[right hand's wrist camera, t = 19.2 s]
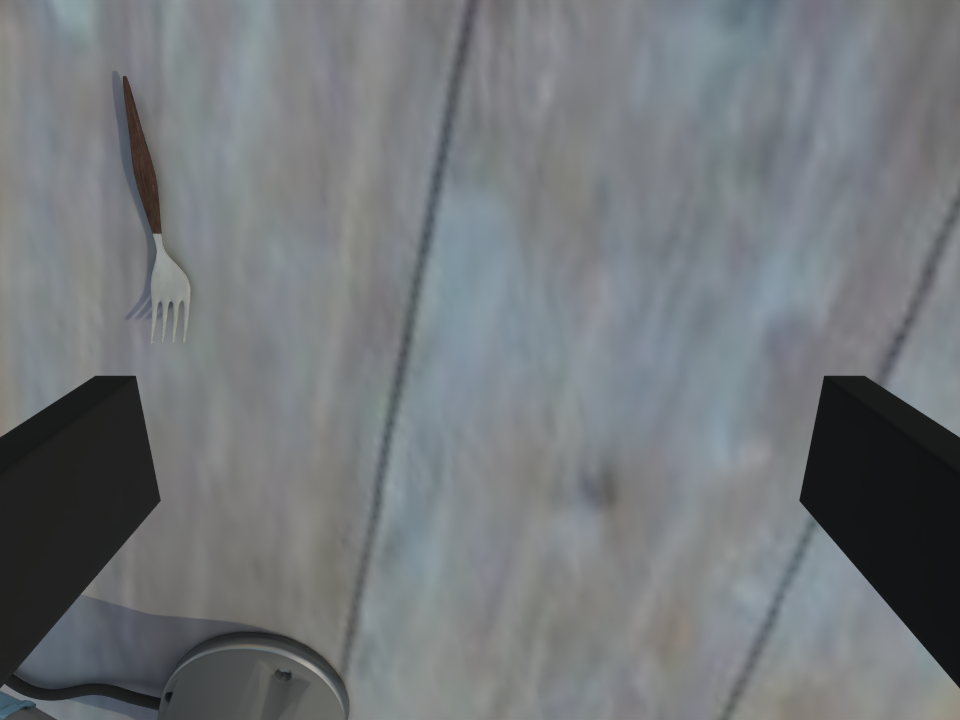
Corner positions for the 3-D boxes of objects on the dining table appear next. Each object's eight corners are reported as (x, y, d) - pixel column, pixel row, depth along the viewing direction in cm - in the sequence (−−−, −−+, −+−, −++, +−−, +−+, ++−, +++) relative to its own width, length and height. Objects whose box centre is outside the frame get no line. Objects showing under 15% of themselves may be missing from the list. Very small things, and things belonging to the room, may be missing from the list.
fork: (151, 76, 38) (134, 73, 36) (200, 333, 43) (187, 343, 41) (107, 77, 38) (87, 75, 36) (161, 334, 43) (147, 344, 41)
